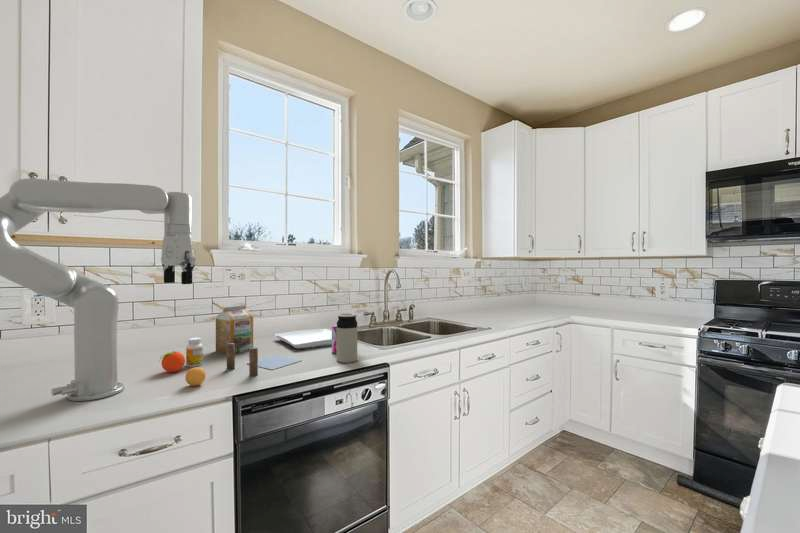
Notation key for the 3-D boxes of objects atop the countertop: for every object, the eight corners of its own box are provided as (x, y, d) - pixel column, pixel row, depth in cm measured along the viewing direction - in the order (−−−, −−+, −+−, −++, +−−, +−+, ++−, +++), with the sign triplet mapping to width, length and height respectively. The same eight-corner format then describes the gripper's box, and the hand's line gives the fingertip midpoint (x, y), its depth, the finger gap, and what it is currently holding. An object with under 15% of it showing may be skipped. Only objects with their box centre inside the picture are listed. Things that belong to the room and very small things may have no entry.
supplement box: (331, 353, 152) (331, 326, 152) (337, 350, 158) (338, 323, 158) (343, 354, 150) (343, 327, 150) (350, 351, 156) (350, 324, 156)
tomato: (163, 377, 121) (163, 355, 120) (154, 373, 125) (154, 352, 124) (188, 371, 127) (188, 350, 127) (179, 367, 131) (179, 347, 131)
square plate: (294, 352, 155) (294, 343, 155) (273, 341, 177) (273, 333, 177) (350, 344, 171) (350, 336, 171) (325, 334, 193) (325, 327, 193)
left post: (229, 370, 128) (229, 344, 128) (225, 369, 129) (225, 344, 129) (236, 368, 130) (236, 343, 130) (231, 367, 132) (231, 342, 131)
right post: (252, 376, 121) (252, 349, 121) (247, 375, 123) (247, 348, 123) (259, 374, 124) (259, 348, 123) (254, 373, 125) (254, 347, 125)
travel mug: (339, 364, 137) (339, 316, 136) (334, 358, 144) (334, 313, 144) (359, 362, 140) (359, 315, 139) (354, 357, 147) (354, 312, 147)
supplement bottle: (184, 364, 135) (184, 338, 134) (200, 362, 138) (200, 336, 138) (188, 368, 131) (188, 340, 131) (204, 365, 135) (204, 338, 134)
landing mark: (272, 370, 129) (272, 369, 129) (246, 364, 136) (246, 363, 136) (301, 360, 141) (301, 360, 141) (277, 355, 148) (277, 355, 148)
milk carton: (230, 355, 149) (230, 308, 148) (215, 351, 155) (215, 306, 154) (253, 349, 158) (253, 305, 157) (238, 346, 163) (238, 304, 163)
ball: (191, 389, 109) (191, 371, 109) (181, 386, 112) (181, 368, 112) (209, 384, 114) (209, 366, 114) (199, 381, 117) (199, 364, 117)
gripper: (150, 230, 120) (150, 283, 120) (182, 229, 112) (182, 285, 112) (174, 232, 127) (174, 282, 127) (205, 231, 118) (205, 283, 118)
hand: (177, 283), depth 119 cm, fingers open, 9 cm apart
